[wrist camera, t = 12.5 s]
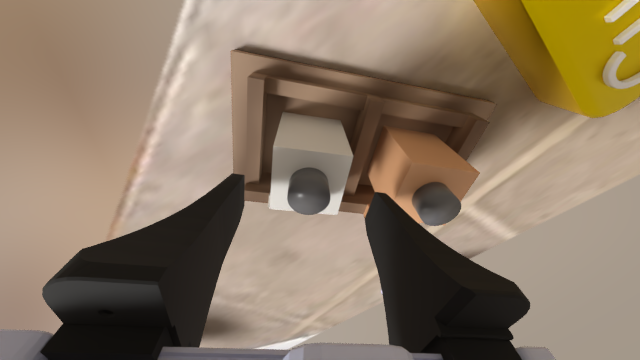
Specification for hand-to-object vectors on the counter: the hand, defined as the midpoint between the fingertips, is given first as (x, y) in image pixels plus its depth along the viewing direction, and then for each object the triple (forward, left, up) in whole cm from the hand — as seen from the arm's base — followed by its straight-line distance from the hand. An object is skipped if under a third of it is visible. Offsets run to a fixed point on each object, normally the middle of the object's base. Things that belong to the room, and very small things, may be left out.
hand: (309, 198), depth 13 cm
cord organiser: (-4, 0, -9) cm, 9 cm away
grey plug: (0, 0, -8) cm, 8 cm away
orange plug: (-8, 0, -8) cm, 11 cm away
